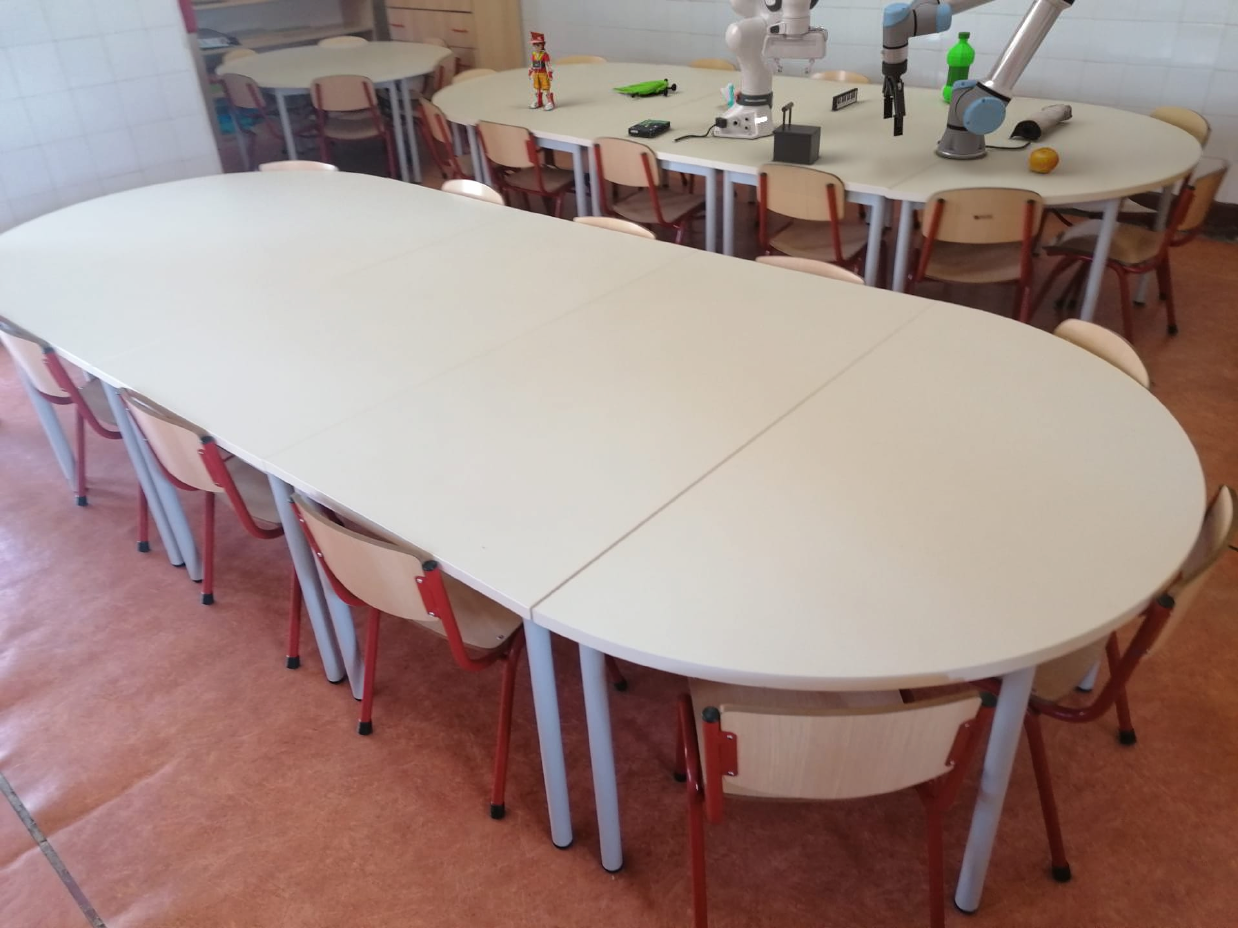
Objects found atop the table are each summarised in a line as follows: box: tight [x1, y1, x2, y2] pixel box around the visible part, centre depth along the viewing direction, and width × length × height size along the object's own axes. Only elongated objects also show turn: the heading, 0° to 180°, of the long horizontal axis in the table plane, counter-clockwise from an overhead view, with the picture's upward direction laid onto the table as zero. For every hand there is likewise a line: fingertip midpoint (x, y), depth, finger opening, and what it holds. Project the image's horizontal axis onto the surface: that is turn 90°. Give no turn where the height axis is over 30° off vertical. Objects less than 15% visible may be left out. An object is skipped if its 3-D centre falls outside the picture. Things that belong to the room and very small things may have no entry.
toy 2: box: [612, 78, 677, 99], centre depth 396 cm, size 28×5×30 cm
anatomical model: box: [719, 82, 742, 108], centre depth 364 cm, size 15×10×10 cm
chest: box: [772, 129, 822, 166], centre depth 302 cm, size 13×10×9 cm
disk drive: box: [627, 118, 671, 138], centre depth 341 cm, size 10×3×15 cm
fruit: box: [1027, 147, 1060, 174], centre depth 278 cm, size 8×8×8 cm
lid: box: [771, 101, 822, 137], centre depth 297 cm, size 14×10×8 cm
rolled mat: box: [1009, 103, 1073, 142], centre depth 315 cm, size 30×9×10 cm
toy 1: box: [527, 31, 556, 111], centre depth 374 cm, size 12×9×30 cm
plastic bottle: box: [942, 31, 976, 104], centre depth 348 cm, size 10×10×25 cm
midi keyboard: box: [831, 87, 859, 111], centre depth 357 cm, size 18×1×5 cm, turn 138°
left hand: (793, 73), depth 292 cm, fingers open, 8 cm apart
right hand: (892, 126), depth 288 cm, fingers open, 13 cm apart
